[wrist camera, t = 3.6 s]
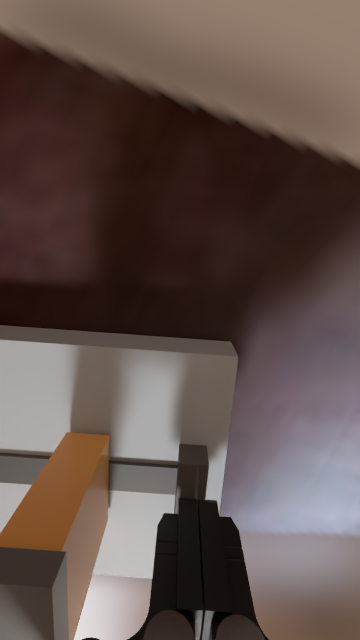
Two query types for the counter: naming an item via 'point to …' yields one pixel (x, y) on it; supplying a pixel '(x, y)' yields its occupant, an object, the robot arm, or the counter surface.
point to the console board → (118, 424)
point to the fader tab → (55, 542)
